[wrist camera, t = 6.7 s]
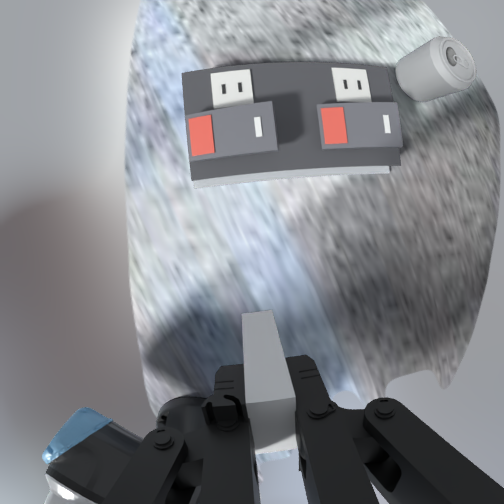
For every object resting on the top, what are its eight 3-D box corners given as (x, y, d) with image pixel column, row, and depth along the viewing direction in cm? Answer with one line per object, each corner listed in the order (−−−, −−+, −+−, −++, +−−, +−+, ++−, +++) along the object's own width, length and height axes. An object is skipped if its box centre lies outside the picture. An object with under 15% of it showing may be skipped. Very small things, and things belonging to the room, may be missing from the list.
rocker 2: (398, 148, 29) (403, 146, 27) (322, 150, 31) (321, 148, 29) (393, 106, 27) (397, 102, 25) (317, 108, 30) (316, 104, 28)
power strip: (386, 173, 37) (406, 173, 31) (195, 188, 36) (187, 190, 31) (373, 72, 33) (389, 60, 28) (184, 79, 33) (176, 65, 28)
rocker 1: (279, 151, 29) (277, 149, 27) (196, 161, 31) (189, 161, 29) (274, 105, 28) (271, 100, 26) (192, 118, 29) (184, 115, 27)
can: (394, 51, 32) (436, 21, 20) (433, 70, 32) (479, 50, 21) (390, 91, 34) (437, 69, 22) (430, 110, 34) (481, 97, 23)
